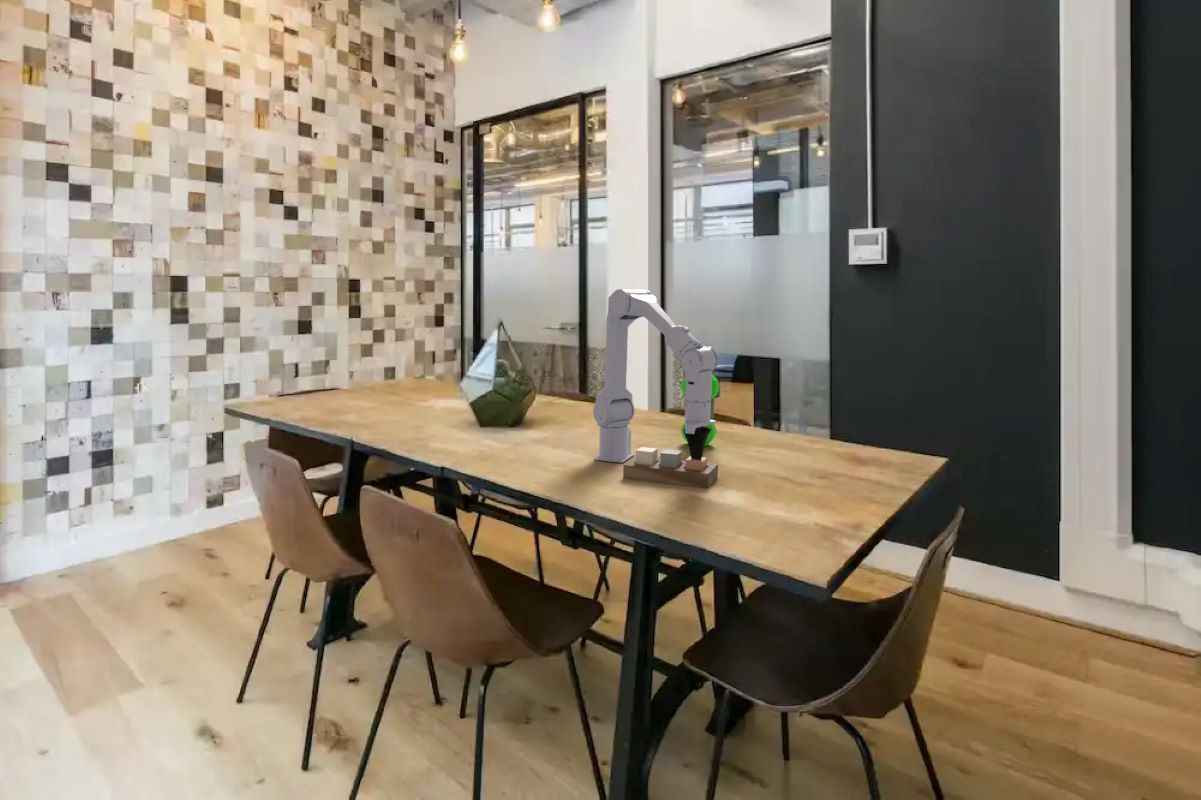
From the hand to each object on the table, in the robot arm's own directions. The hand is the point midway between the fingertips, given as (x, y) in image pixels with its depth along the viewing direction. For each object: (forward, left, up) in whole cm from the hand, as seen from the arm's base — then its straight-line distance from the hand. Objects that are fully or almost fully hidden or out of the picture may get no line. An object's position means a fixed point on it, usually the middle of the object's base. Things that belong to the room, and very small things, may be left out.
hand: (696, 459), depth 164 cm
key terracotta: (0, 0, -3) cm, 3 cm away
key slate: (0, -6, -3) cm, 6 cm away
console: (0, -6, -5) cm, 8 cm away
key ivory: (0, -12, -3) cm, 12 cm away
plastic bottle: (-38, -9, -5) cm, 39 cm away
